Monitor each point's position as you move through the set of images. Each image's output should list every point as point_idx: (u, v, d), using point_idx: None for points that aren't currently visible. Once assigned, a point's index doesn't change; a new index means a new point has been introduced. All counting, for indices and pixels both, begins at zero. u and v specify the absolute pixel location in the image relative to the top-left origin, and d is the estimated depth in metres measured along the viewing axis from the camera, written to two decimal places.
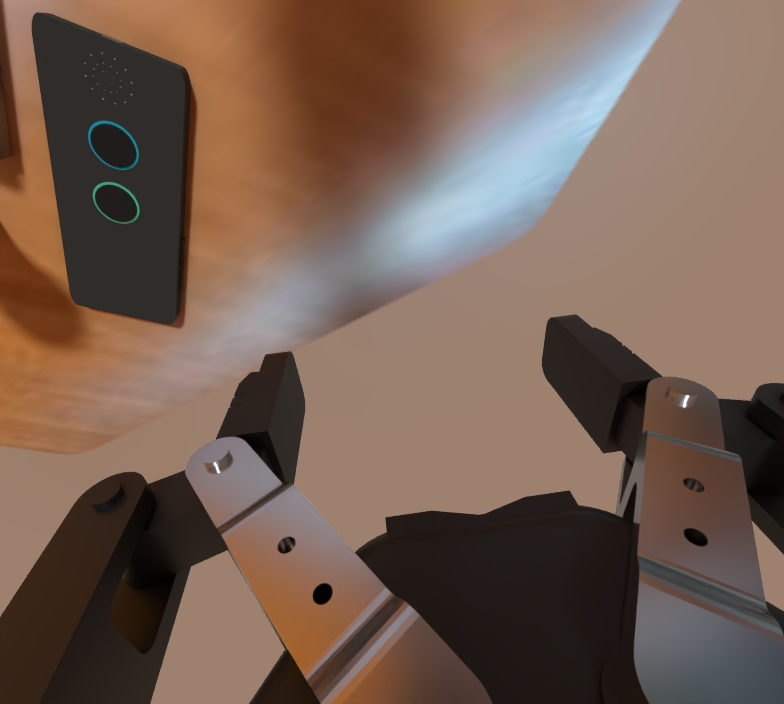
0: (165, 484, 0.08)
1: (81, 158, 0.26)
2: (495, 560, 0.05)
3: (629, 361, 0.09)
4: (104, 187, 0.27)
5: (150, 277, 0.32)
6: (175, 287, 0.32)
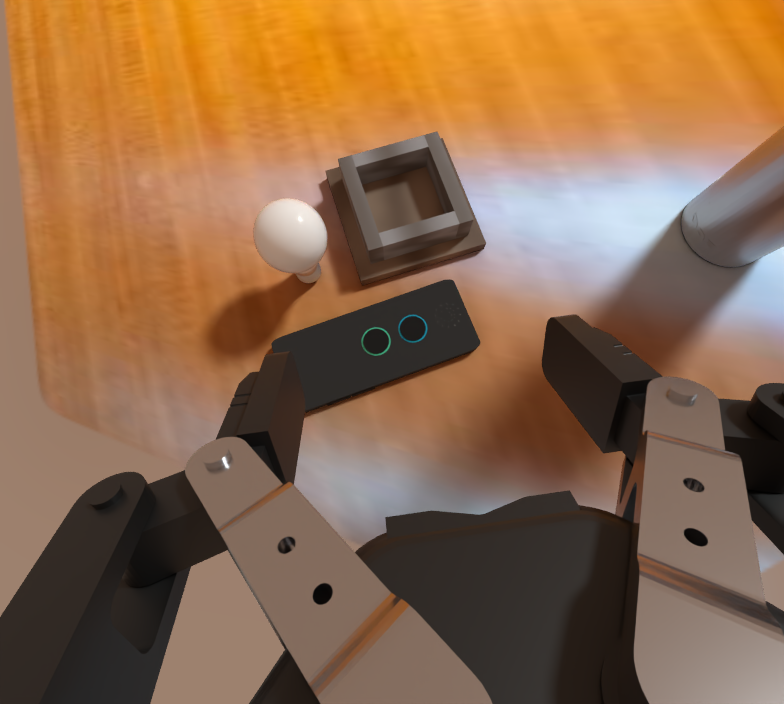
0: (165, 485, 0.08)
1: (392, 316, 0.39)
2: (495, 560, 0.05)
3: (629, 361, 0.09)
4: (382, 331, 0.39)
5: (330, 380, 0.38)
6: (332, 399, 0.37)
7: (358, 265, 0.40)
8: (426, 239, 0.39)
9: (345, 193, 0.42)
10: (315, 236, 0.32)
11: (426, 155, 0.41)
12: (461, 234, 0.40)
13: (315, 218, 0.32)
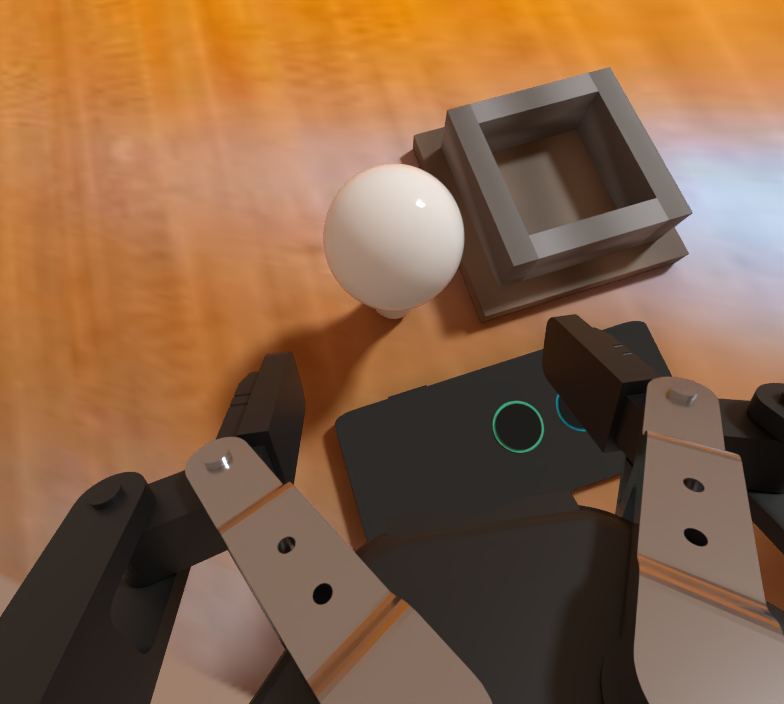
0: (164, 484, 0.08)
1: (544, 381, 0.23)
2: (495, 560, 0.05)
3: (629, 361, 0.09)
4: (529, 409, 0.22)
5: (439, 495, 0.21)
6: None
7: (478, 289, 0.24)
8: (603, 246, 0.23)
9: (448, 171, 0.26)
10: (456, 240, 0.16)
11: (586, 108, 0.25)
12: (652, 238, 0.24)
13: (455, 204, 0.16)
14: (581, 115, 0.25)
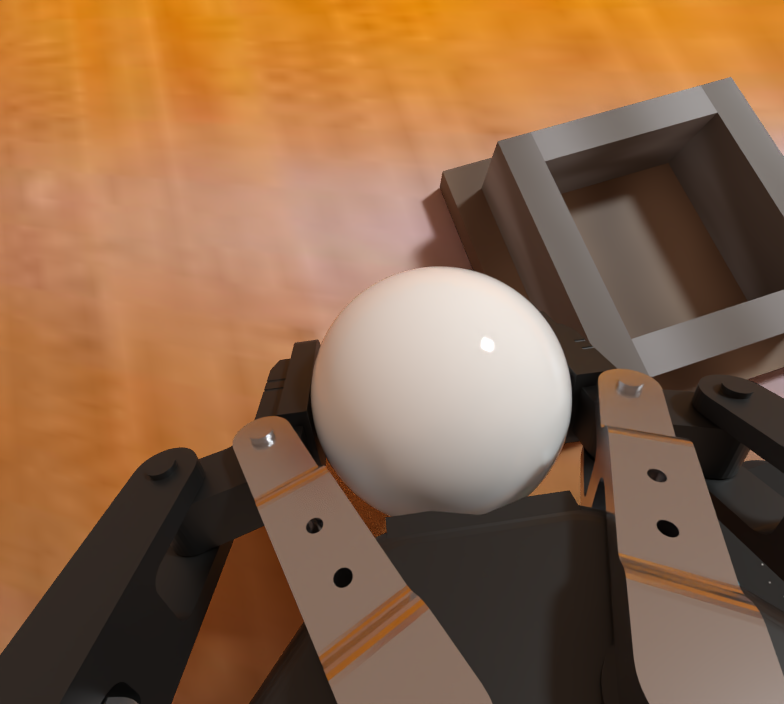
0: (211, 461, 0.08)
1: None
2: (495, 560, 0.05)
3: (586, 354, 0.09)
4: None
5: None
6: None
7: None
8: None
9: (493, 223, 0.18)
10: (567, 425, 0.08)
11: (692, 135, 0.17)
12: None
13: (561, 351, 0.08)
14: (682, 145, 0.18)
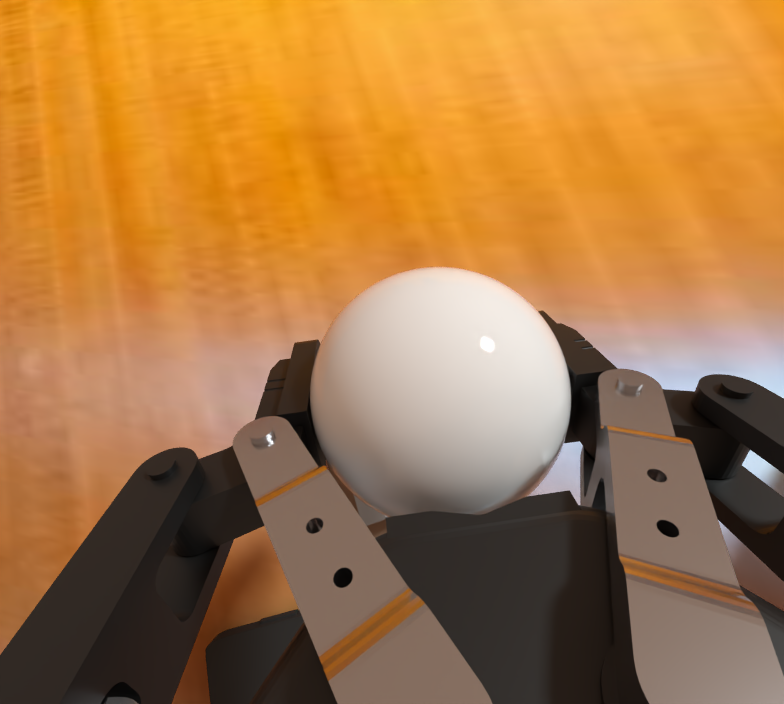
0: (211, 461, 0.08)
1: None
2: (495, 560, 0.05)
3: (586, 354, 0.09)
4: None
5: None
6: None
7: None
8: None
9: None
10: (566, 426, 0.08)
11: None
12: None
13: (560, 352, 0.08)
14: None
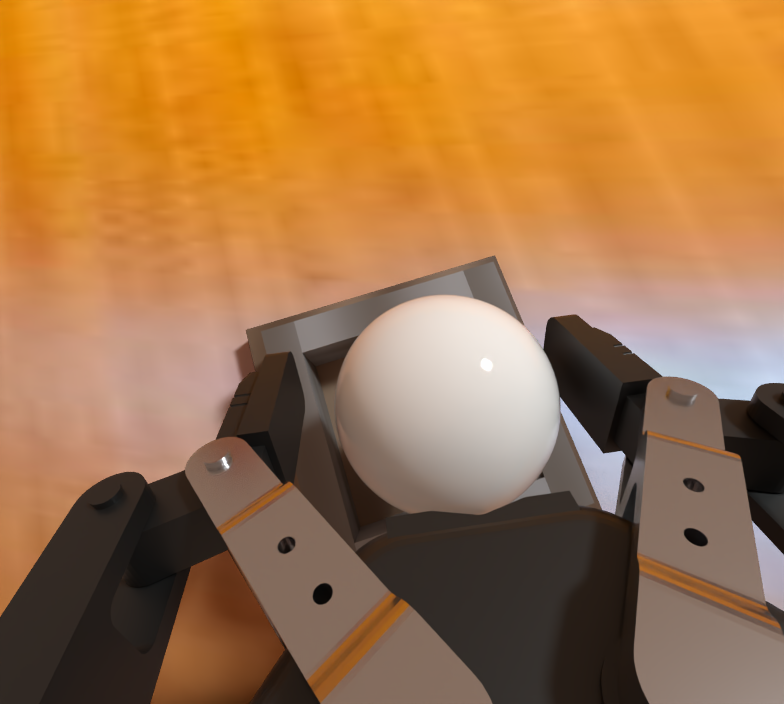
0: (164, 484, 0.08)
1: None
2: (495, 560, 0.05)
3: (629, 361, 0.09)
4: None
5: None
6: None
7: None
8: None
9: None
10: (555, 433, 0.09)
11: None
12: None
13: (551, 369, 0.10)
14: None
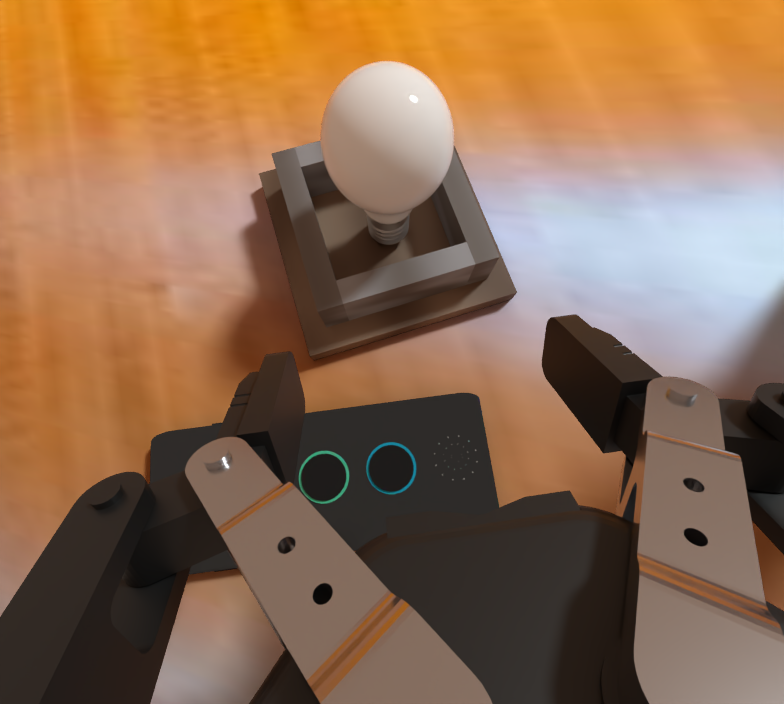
0: (165, 484, 0.08)
1: (362, 437, 0.23)
2: (495, 560, 0.05)
3: (629, 361, 0.09)
4: (339, 462, 0.22)
5: None
6: (222, 566, 0.21)
7: (306, 329, 0.24)
8: (418, 289, 0.23)
9: None
10: (445, 132, 0.17)
11: None
12: (477, 278, 0.24)
13: (444, 100, 0.17)
14: None
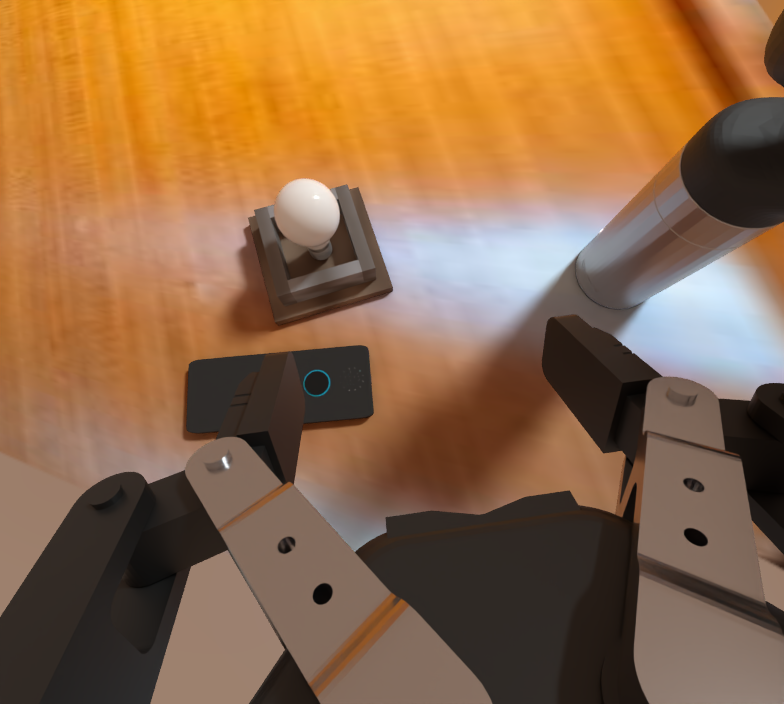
0: (164, 485, 0.08)
1: (302, 366, 0.42)
2: (495, 560, 0.05)
3: (629, 361, 0.09)
4: None
5: None
6: None
7: (273, 307, 0.44)
8: (333, 285, 0.42)
9: None
10: (330, 211, 0.36)
11: None
12: (369, 279, 0.44)
13: (330, 196, 0.36)
14: None
